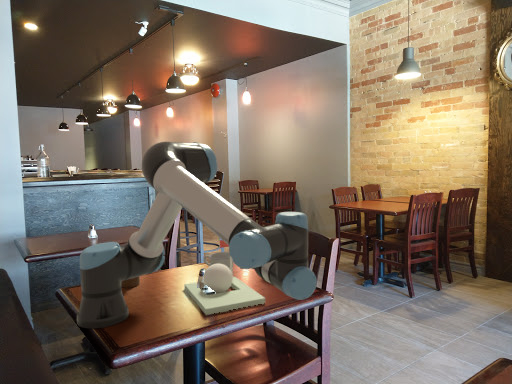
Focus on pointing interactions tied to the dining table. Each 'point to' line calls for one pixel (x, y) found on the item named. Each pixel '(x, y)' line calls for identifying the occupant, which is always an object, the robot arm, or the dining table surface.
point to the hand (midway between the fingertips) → (239, 249)
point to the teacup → (218, 259)
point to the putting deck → (225, 295)
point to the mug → (130, 282)
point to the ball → (218, 277)
